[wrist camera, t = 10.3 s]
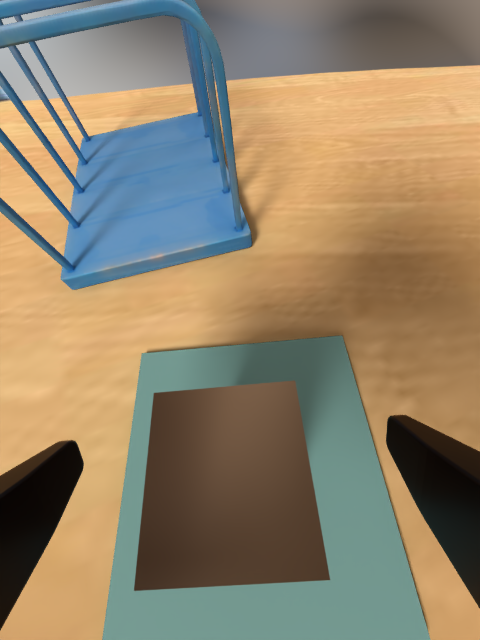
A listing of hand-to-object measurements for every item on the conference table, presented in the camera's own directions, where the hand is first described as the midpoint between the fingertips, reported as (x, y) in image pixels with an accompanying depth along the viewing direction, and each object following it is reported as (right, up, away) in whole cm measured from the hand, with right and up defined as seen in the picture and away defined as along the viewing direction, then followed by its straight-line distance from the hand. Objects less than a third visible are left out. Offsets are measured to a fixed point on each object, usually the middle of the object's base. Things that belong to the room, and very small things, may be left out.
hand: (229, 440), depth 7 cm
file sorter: (-10, +19, +22) cm, 31 cm away
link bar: (+1, -5, +8) cm, 9 cm away
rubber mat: (+1, -5, +8) cm, 10 cm away
